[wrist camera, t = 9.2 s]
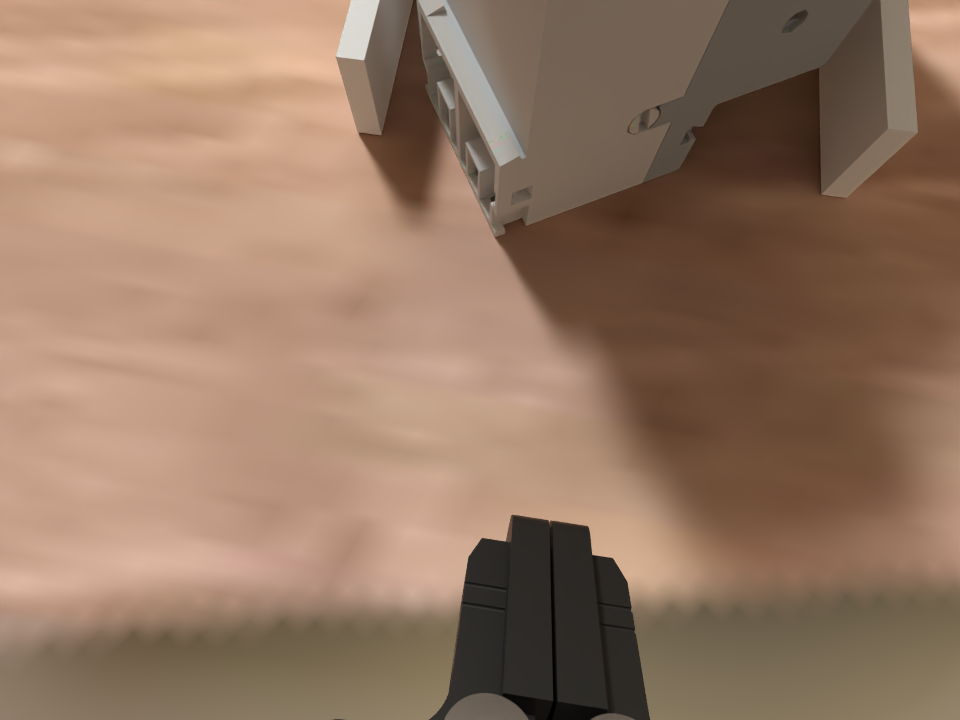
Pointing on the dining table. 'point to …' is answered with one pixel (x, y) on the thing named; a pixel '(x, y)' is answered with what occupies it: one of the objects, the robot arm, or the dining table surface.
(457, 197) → the dining table surface
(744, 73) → the circuit breaker
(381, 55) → the panel bay
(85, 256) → the dining table surface
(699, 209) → the dining table surface
